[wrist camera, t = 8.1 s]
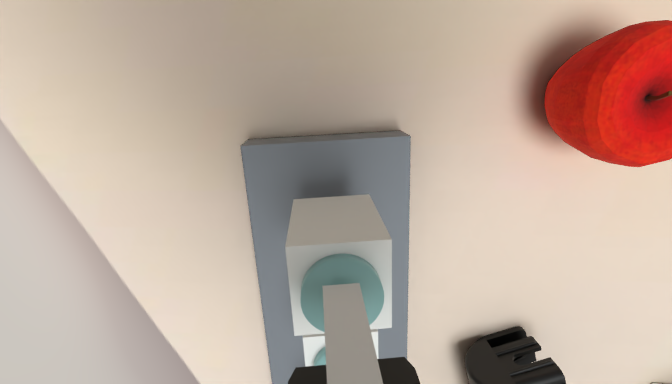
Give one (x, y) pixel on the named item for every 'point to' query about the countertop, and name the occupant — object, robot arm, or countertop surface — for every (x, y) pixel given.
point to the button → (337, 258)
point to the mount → (314, 182)
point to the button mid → (316, 348)
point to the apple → (617, 96)
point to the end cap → (509, 360)
